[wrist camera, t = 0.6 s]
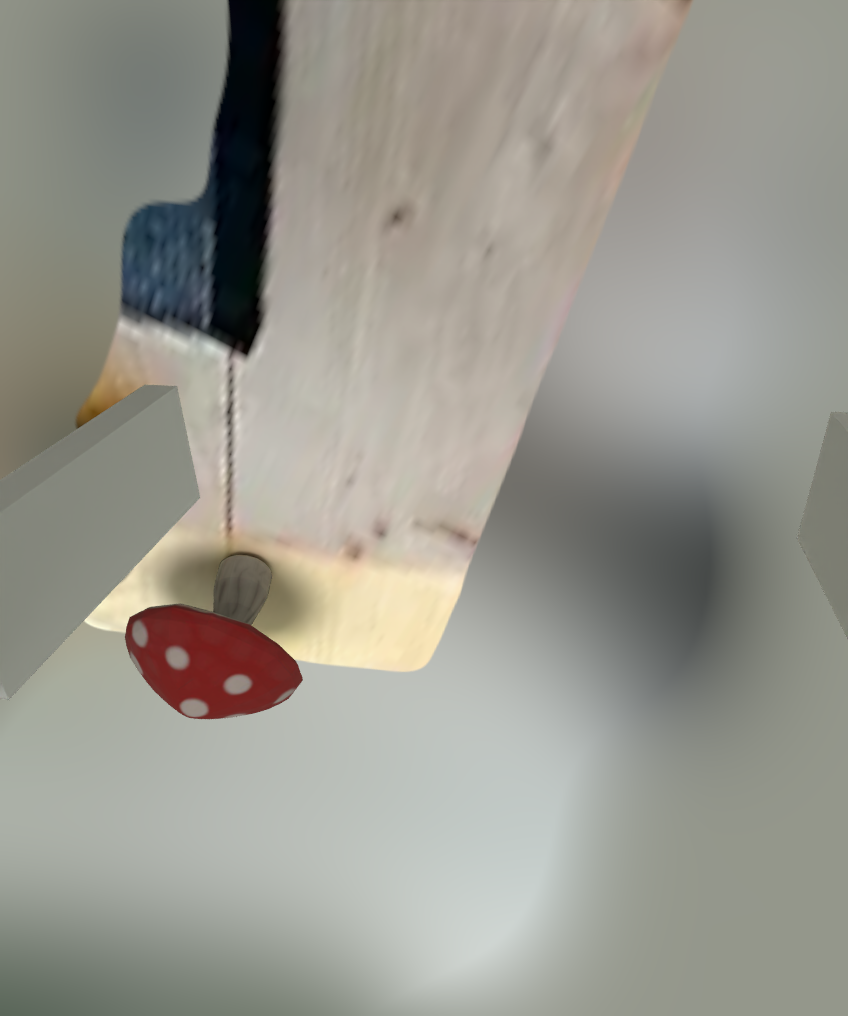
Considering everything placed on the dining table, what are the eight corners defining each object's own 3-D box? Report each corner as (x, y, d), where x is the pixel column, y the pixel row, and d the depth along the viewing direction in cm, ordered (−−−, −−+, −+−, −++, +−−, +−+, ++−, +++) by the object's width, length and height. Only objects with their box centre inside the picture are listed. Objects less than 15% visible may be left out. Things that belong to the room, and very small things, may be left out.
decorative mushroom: (310, 626, 76) (286, 763, 66) (157, 602, 74) (108, 741, 64) (329, 532, 64) (304, 680, 54) (149, 500, 62) (87, 649, 52)
